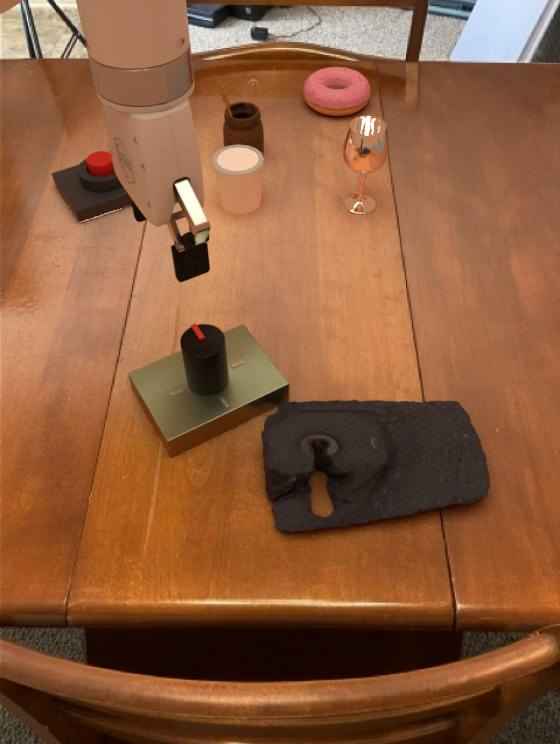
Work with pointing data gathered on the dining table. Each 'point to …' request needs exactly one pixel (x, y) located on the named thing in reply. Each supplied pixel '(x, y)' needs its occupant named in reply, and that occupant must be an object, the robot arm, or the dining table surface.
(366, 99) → the doughnut
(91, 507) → the dining table surface
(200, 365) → the dial
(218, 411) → the control panel
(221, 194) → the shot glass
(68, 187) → the button box
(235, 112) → the utensil holder
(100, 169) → the button
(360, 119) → the wineglass
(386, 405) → the dark grey slotted slab
